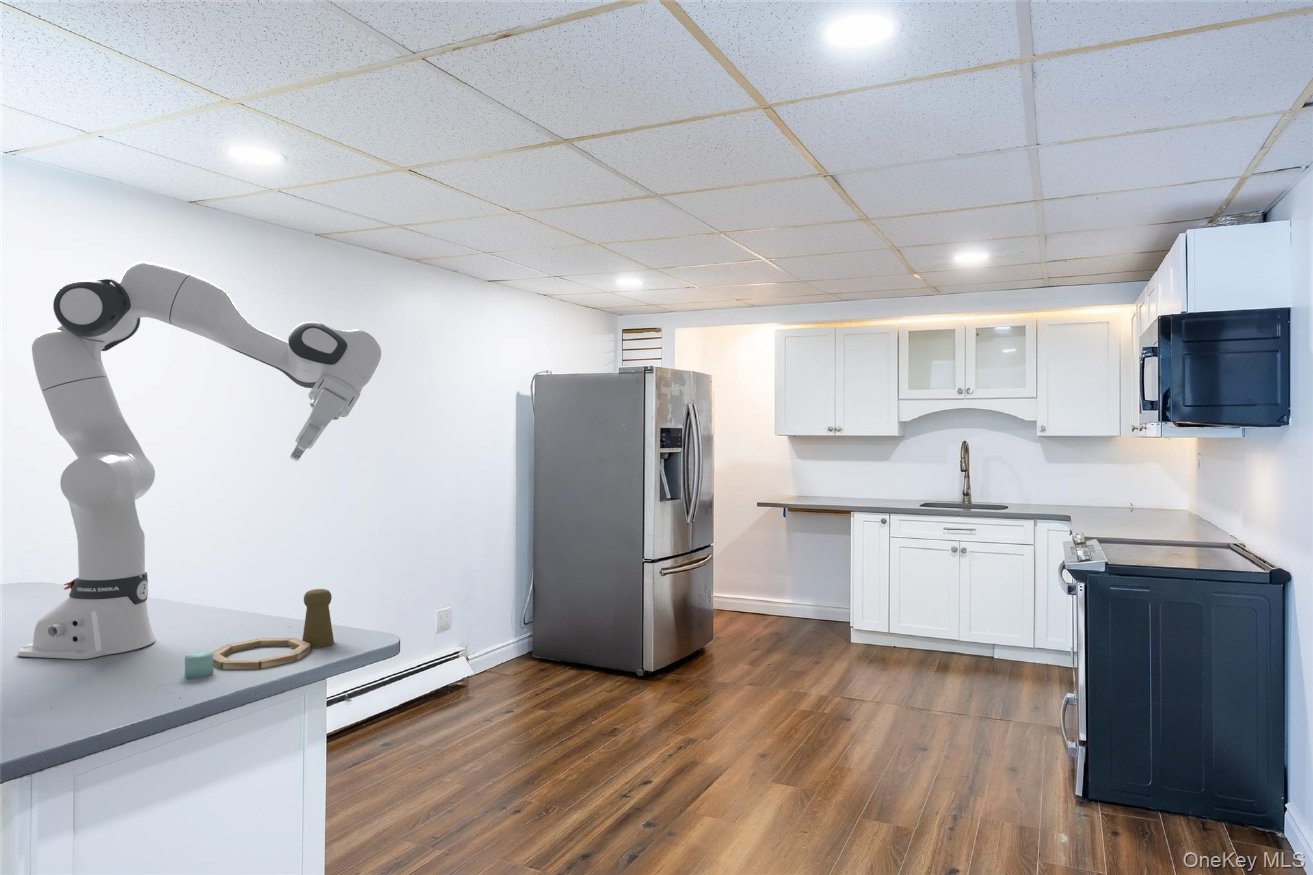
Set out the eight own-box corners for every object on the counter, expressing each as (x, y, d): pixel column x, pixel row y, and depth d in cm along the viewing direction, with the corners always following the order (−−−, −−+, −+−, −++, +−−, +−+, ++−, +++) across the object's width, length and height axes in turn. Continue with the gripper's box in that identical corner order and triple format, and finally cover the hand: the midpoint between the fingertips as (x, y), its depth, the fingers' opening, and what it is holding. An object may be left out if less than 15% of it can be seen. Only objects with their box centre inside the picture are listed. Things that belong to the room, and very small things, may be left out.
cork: (322, 649, 161) (322, 593, 161) (295, 647, 163) (294, 592, 162) (340, 640, 167) (339, 587, 167) (313, 639, 168) (313, 586, 168)
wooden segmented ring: (193, 669, 148) (193, 663, 148) (235, 644, 164) (235, 638, 164) (287, 668, 149) (287, 662, 149) (320, 643, 165) (320, 637, 165)
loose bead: (179, 679, 143) (179, 659, 143) (192, 671, 147) (192, 651, 147) (205, 678, 143) (205, 658, 143) (217, 670, 147) (217, 651, 147)
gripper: (309, 404, 179) (275, 457, 173) (327, 375, 162) (289, 433, 156) (336, 419, 181) (303, 472, 175) (356, 392, 164) (320, 449, 158)
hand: (297, 453), depth 165 cm, fingers open, 8 cm apart
